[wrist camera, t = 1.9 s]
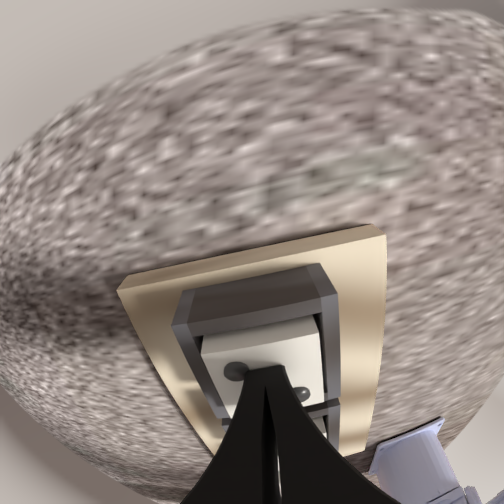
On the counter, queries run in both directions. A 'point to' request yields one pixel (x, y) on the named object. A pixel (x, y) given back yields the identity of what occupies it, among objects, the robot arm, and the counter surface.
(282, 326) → the tile three
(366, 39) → the counter surface
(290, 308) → the tile board
